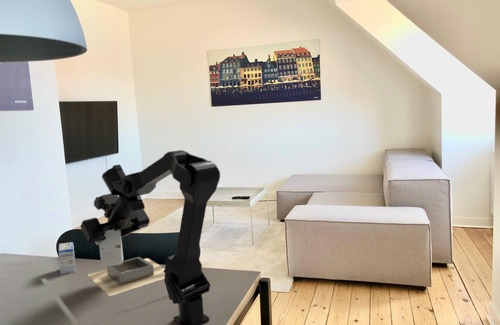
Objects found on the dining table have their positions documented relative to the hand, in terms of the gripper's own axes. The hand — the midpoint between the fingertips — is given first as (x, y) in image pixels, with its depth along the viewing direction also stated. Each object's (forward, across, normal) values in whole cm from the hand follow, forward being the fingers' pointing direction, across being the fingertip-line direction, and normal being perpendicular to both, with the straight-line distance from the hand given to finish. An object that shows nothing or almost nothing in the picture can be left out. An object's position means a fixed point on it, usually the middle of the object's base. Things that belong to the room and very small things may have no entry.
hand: (108, 240), depth 117 cm
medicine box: (+24, +4, -5) cm, 25 cm away
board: (+8, -5, +10) cm, 14 cm away
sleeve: (+8, -5, +10) cm, 13 cm away
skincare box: (+4, 0, +6) cm, 7 cm away
